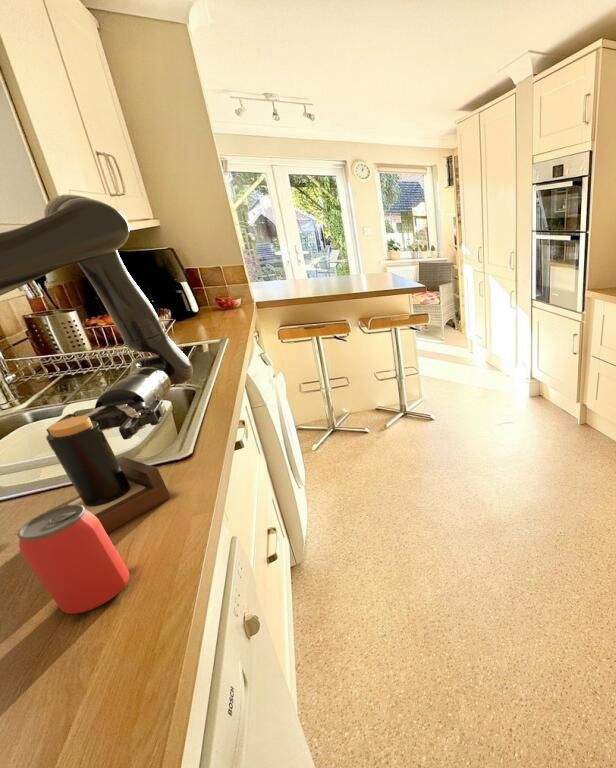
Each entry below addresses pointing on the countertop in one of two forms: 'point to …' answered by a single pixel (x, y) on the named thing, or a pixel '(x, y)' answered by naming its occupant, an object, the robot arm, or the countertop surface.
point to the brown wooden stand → (129, 495)
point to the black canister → (88, 460)
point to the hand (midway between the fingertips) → (90, 440)
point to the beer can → (73, 558)
